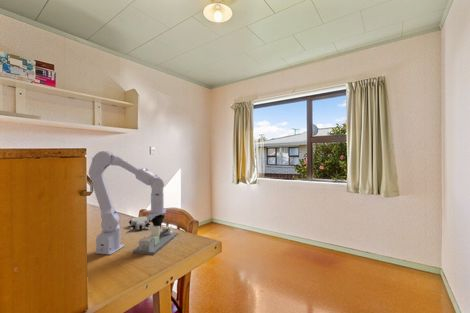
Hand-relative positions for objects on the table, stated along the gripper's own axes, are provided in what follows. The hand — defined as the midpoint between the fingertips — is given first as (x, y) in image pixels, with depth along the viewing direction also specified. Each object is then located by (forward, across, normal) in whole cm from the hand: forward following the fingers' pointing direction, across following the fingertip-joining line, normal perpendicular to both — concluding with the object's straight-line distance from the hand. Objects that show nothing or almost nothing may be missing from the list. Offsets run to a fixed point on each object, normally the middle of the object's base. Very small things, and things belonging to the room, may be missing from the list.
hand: (157, 230), depth 107 cm
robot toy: (+6, +20, +22) cm, 31 cm away
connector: (+5, -9, 0) cm, 10 cm away
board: (+6, 0, 0) cm, 6 cm away
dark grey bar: (+3, 0, 0) cm, 4 cm away
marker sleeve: (+5, -4, 0) cm, 6 cm away
